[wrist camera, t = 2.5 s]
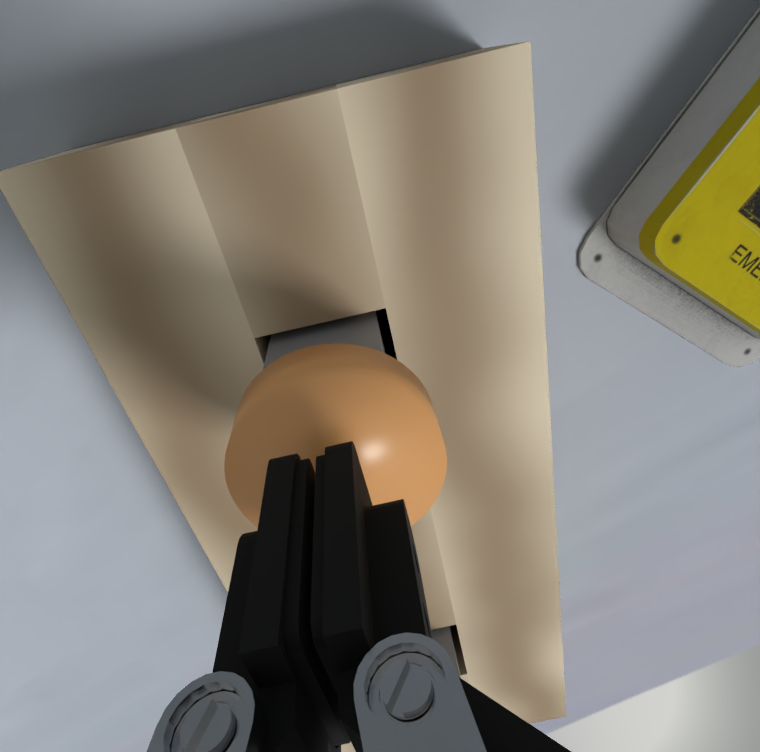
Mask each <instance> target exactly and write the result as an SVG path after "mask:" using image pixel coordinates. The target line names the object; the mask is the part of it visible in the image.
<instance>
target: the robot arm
mask: <svg viewBox="0 0 760 752" xmlns="http://www.w3.org/2000/svg"><path fill="white" fill-rule="evenodd" d="M350 741H351V743H352V745H353V747H354V749H355V751H356V752H571V751H569V750H568V749H566V748H565V747H563V746H562V745H560V744H558V743H557V742H556V741H554V740H553V739H551V738H550V737H548V736H547V735H545V734H544V733H542V732H541V731H539V730H538V729H536V728H535V727H533V726H532V725H530V724H529V723H527V722H526V721H524V720H523V719H521V718H520V717H518V716H517V715H515V714H514V713H512V712H511V711H509V710H508V709H506V708H505V707H503V706H502V705H500V704H499V703H497V702H496V701H494V700H493V699H491V698H490V697H488V696H487V695H485V694H484V693H482V692H481V691H479V690H478V689H476V688H475V687H473V686H472V685H470V684H469V683H467V682H466V681H464V680H463V679H461V678H460V677H459V676H458V673H457V671H456V668H455V665H454V663H453V661H452V660H451V658H450V656H449V654H448V653H447V651H446V650H445V649H444V648H443V647H442V646H441V645H440V644H439V643H438V642H436V641H435V640H434V639H433V638H432V632H431V627H430V621H429V616H428V610H427V605H426V599H425V594H424V588H423V583H422V577H421V572H420V566H419V561H418V556H417V551H416V547H415V542H414V538H413V533H412V529H411V525H410V521H409V517H408V513H407V509H406V505H405V502H404V499H401V500H396V501H392V502H387V503H382V504H378V505H372V502H371V498H370V495H369V492H368V488H367V485H366V482H365V478H364V475H363V472H362V468H361V465H360V462H359V458H358V455H357V452H356V448H355V445H354V443H353V441H350V442H345V443H341V444H336V445H332V446H327V447H325V455H321V456H317V457H316V468H315V471H314V468H313V465H312V463H311V460H310V459H309V458H307V459H303V460H301V458H300V456H299V455H298V454H297V453H296V454H291V455H287V456H282V457H278V458H273V459H270V460H269V462H268V466H267V472H266V479H265V485H264V491H263V498H262V504H261V511H260V517H259V523H258V530H257V531H254V532H249V533H245V534H242V535H241V537H240V538H239V541H238V545H237V549H236V555H235V560H234V565H233V570H232V575H231V580H230V586H229V591H228V596H227V601H226V606H225V611H224V616H223V622H222V627H221V632H220V637H219V642H218V647H217V652H216V658H215V663H214V668H213V673H210V674H206V675H204V676H202V677H200V678H198V679H196V680H194V681H192V682H191V683H190V684H188V685H187V686H186V687H185V688H184V689H182V690H181V691H180V692H179V693H178V694H177V695H176V696H175V697H174V698H173V700H172V701H171V702H170V703H169V705H168V706H167V707H166V709H165V710H164V712H163V714H162V716H161V718H160V720H159V722H158V724H157V726H156V729H155V731H154V734H153V736H152V739H151V742H150V744H149V747H148V749H147V752H341V745H343V744H348V743H350Z"/></svg>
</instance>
